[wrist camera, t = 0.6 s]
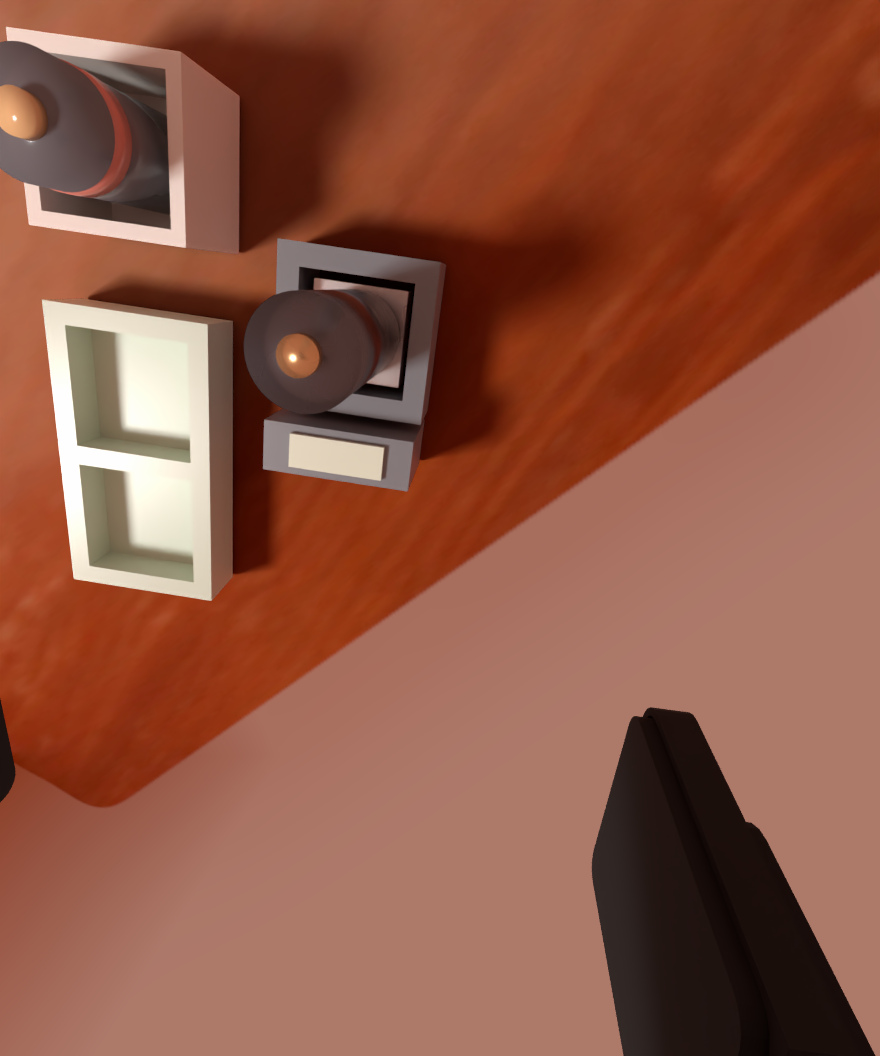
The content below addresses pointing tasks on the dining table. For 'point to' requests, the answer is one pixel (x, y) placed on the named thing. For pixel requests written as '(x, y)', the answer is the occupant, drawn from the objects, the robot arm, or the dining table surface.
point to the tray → (144, 444)
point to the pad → (401, 309)
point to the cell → (318, 346)
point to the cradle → (373, 410)
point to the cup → (120, 140)
